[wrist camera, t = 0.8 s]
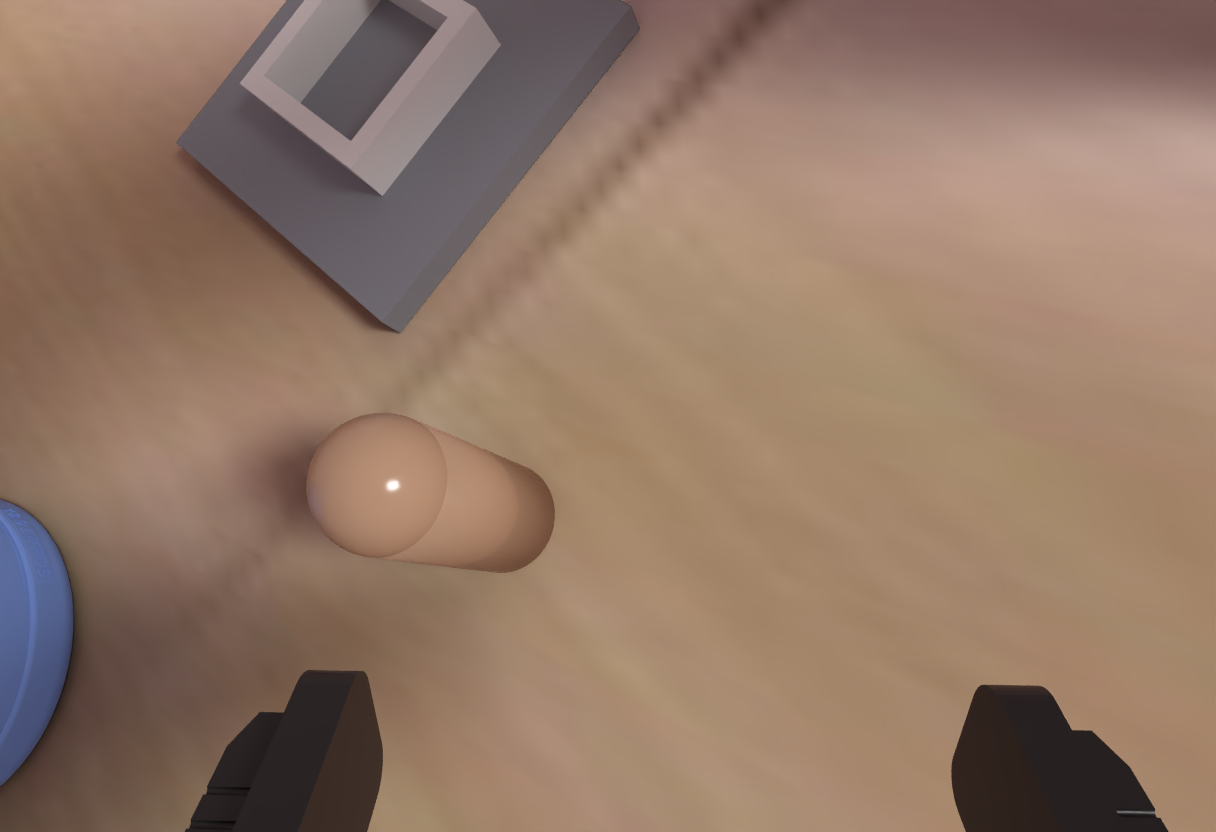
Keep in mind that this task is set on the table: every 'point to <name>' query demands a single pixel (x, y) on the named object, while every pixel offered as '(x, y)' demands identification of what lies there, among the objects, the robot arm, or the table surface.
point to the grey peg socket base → (399, 126)
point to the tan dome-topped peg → (426, 497)
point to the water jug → (30, 633)
